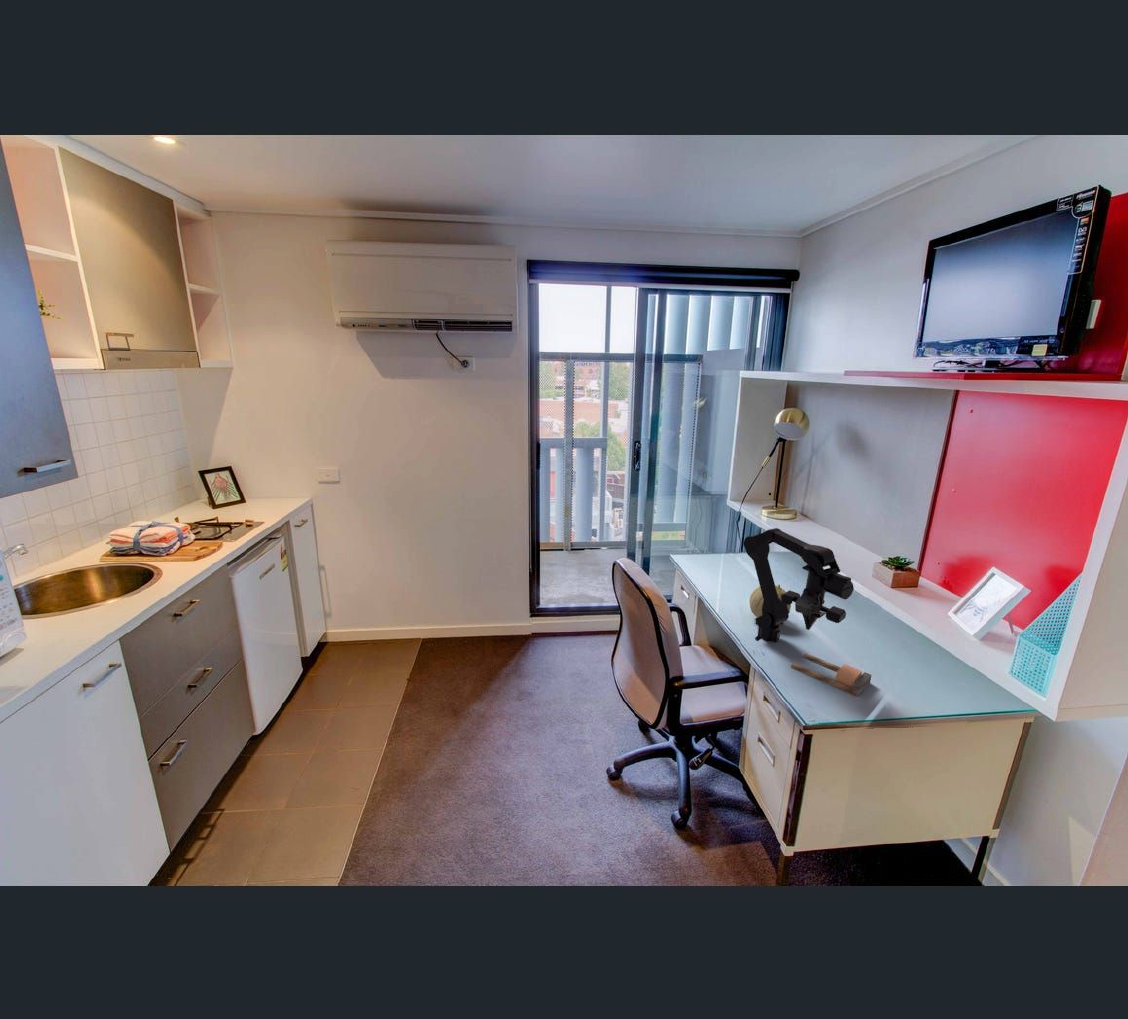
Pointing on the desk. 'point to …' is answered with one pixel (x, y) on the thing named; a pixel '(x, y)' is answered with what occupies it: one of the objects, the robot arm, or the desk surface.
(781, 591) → the cantaloupe
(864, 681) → the channel
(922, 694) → the desk surface
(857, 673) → the block
